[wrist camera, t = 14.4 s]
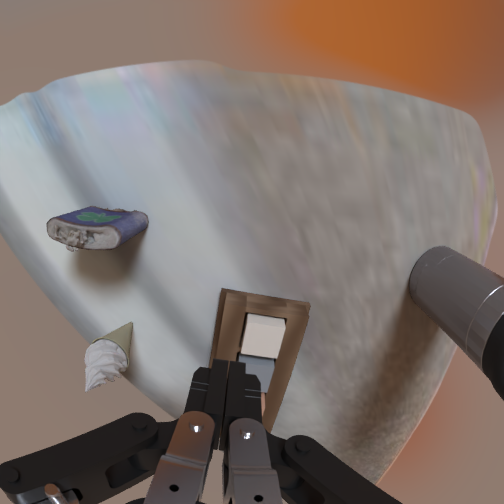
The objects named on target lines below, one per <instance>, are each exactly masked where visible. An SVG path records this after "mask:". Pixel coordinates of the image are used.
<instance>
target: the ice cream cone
mask: <svg viewBox="0 0 504 504" xmlns="http://www.w3.org/2000/svg"><path fill="white" fill-rule="evenodd" d="M132 327H133V323H132V322H130V323H128V324H126V325H124V326H122V327H120V328H118V329H116V330H114V331H112V332H111V333H109V334H107V335H105V336H103V337H101V338H97V339H95V340H94V341H93V342H92V344H91V346H90V347H89V348H88V349H87V350H86V355H85V360H84V361H85V364H86V366H87V368H86V369H85V373H86V389H85V392H87V391H89V390H91V389H93V388H96V387H98V386H101V384H106V382H105V381H104V379H107V380H108V381H111V382H113V381H115V380H114V379H113V376H116V377H118V378H121V375H120V373H121V372H124V371H125V370H126V369H127V368H128V365H129V350H130V342H131V334H132Z"/></svg>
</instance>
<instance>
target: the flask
mask: <svg viewBox="0 0 504 504" xmlns="http://www.w3.org/2000/svg"><path fill="white" fill-rule="evenodd" d="M147 225H148V216H147V215H146V214H145V213H142V212H139V211H135V210H134V211H132V212H130V211H124V210H123V209H122V210H121V209H115V210H109V209H108V208H107V209H102V208H100V207H96V206H90V207H87V208H84V209H81V210H77V211H73V212H71V213H67V214H63V215H60V216H57V217H54V218H51V219H50V220H49V221H48V222H47V232H48V235H49V236H50V237H51V238H52V239H54V240H56V241H59V242H61V243H63V244H66V245H67V246H66V248H67V249H68V250H69V251H71V252H73V251H74V249H73V247H76V248H81V249H88V250H112V249H114V248H117V247H118V246H119V245H121V244H122V243H124V242H125V241H127V240H128V239H130V238H131V237H133V236H134V235H136V234H138V233H140V232H141V231H143V230H144V229H145V228H146V227H147ZM69 246H71V247H69ZM76 251H78V249H76Z"/></svg>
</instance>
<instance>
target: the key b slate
mask: <svg viewBox="0 0 504 504" xmlns="http://www.w3.org/2000/svg"><path fill="white" fill-rule="evenodd" d="M237 362H244V363H246V374H254V375H256V376H257V377H258V379H259V381H260V382H261V392H265V393H267V391H268V388H269V385H270V381H271V378H272V374H273V371H274V368H275V366H274V358H269V357H262V356H255V355H248V354H242V353H241V352H239V354H238V359H237Z"/></svg>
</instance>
